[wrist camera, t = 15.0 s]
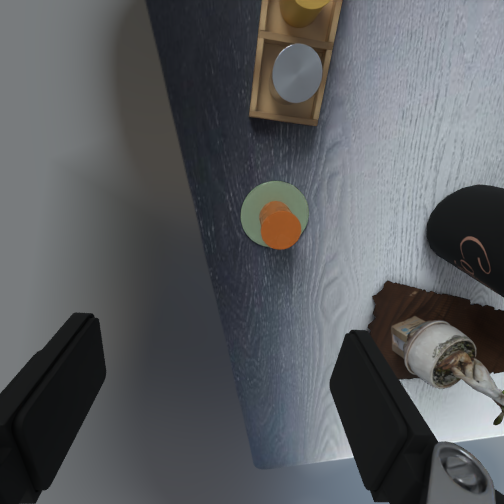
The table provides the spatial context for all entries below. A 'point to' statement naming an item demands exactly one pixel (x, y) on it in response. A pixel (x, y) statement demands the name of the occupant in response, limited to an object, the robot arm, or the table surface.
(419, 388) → the table surface
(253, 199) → the coaster
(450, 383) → the potted plant
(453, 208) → the coffee jar
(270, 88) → the disc
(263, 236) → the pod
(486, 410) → the table surface
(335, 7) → the pod holder
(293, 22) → the cylinder
